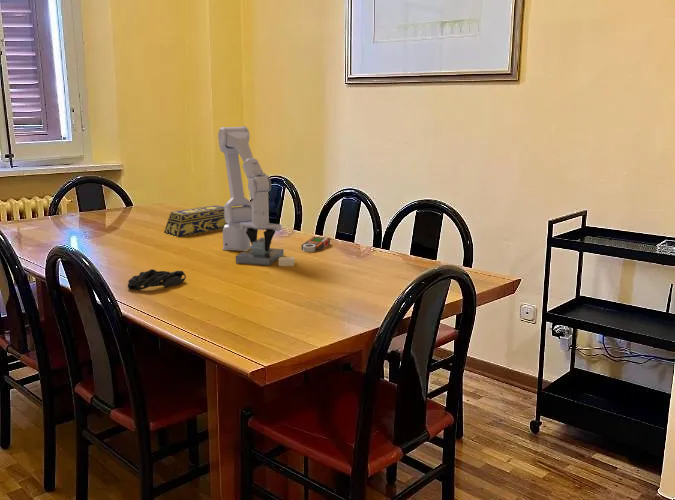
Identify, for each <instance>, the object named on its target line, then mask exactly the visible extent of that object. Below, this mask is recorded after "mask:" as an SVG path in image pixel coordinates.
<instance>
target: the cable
mask: <svg viewBox="0 0 675 500" xmlns="http://www.w3.org/2000/svg"><path fill="white" fill-rule="evenodd" d="M186 279H187V275H186V273H185V272H184V271H183V270H175V271H171V272H170V271H167V270H165V271H164V270H160V271H157V270H156V269H153V268H152V269H149V270H146V271H141V272H140V273H139V274H138V275H133V276H132V277H131V278H130V279H129V280H128V283H127V288H128V289H134V290H136V289H138V290H137V291H141V290H145V289H147V288H151V287H161V286H162V287H164V288H168V287H167V286H170V287H174V286H173V285H175V286H179V285H180V284H181V283H182V282H184V281H185V280H186ZM131 287H133V288H131Z"/></svg>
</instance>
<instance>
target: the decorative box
mask: <svg viewBox="0 0 675 500" xmlns="http://www.w3.org/2000/svg"><path fill="white" fill-rule="evenodd" d="M168 216H169V217H168V218H167V221H166V224H165V228H164V230H163V234H164V233H166V234H165V235H168V234H170V235H169V236H171V235H173V236H172V237H174V236H176V238H181V237H180V236H182V237H187V236H186V235H188V236H192V234H193V235H197V234H196V233H199V234H202V233H201V232H204V233H208V232H207V231H210V232H213V231H212V230H216V231H219V230H218V229H221V230H223V228H224V226H225V225H226V224H227V223H226V221H225V218H224V206H223V205H217V204H214V205H209V206H201V207H200V206H199V207H194V208H188V209H187V208H186V209H179V210H174V211H170V212H169V215H168Z"/></svg>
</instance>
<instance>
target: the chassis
mask: <svg viewBox="0 0 675 500" xmlns="http://www.w3.org/2000/svg"><path fill="white" fill-rule="evenodd" d="M284 250H285V249H284V248H275V247H274V248H272V247H270V252H269V253H267V254H266V255H258V254H252V248H248V249H247V250H245V251H241V252H240V253H238V254H236V255H235V264H241V265H242V264H244V265H255V266H256V265H259V266H271V265H273V264H274V263H275V262H276V261H279V257H285V253H284Z"/></svg>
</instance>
